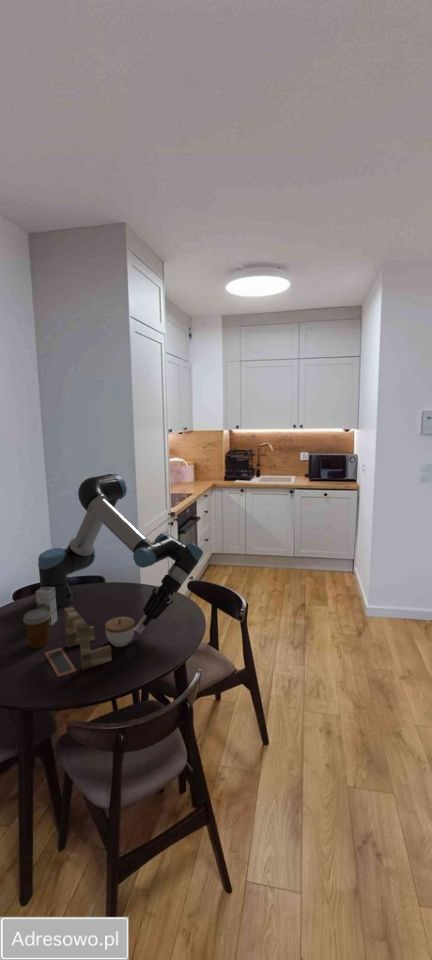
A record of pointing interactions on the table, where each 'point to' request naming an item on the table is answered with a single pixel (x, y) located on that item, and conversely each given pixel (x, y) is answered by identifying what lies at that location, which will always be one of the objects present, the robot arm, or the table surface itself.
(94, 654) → the tunnel
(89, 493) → the robot arm
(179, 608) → the table surface
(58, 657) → the framed chalkboard
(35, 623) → the disposable coffee cup
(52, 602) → the syrup box
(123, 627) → the lidded jar
